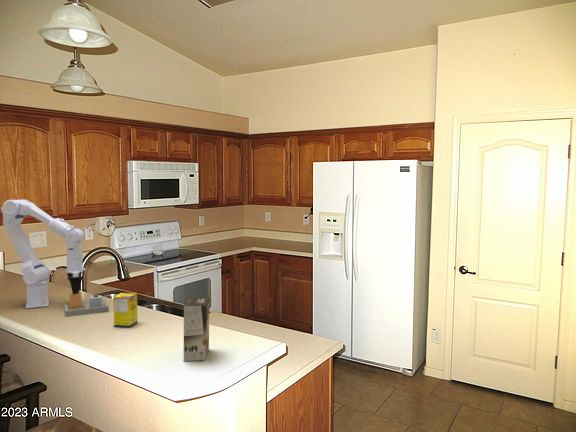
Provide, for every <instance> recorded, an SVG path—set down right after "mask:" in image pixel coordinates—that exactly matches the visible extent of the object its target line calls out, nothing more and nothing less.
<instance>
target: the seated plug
mask: <svg viewBox="0 0 576 432" xmlns="http://www.w3.org/2000/svg"><path fill="white" fill-rule="evenodd" d="M94 307H103V297H102V295H101V294H100V295H99V294H98V293H94V294H93V295H90V296H89V308H94Z"/></svg>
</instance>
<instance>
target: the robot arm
mask: <svg viewBox="0 0 576 432" xmlns="http://www.w3.org/2000/svg"><path fill="white" fill-rule="evenodd" d="M0 211H1V213H2V224H3V228H4V229H5V231H6V233H7V234H6V235H8V237H9V240H10V241H11V243H12V246H13V247H14V249H15V252H16V253H17V255H18V257H19V259H20V261H21V263H22V266H21V270H20V271H21V272H22V280H23V282H24V283H25V284H26V303H25V309H33V308H40V307H41V308H42V307H49V303H50V301H49V299H48V279H49V278H50V276H51V270H50V268H49V267H48V266H46V264H45V263H44V261H43V260H41V259H39V258H38V256H37V254H36V252H35V251H34V248H33V247H32V245H31V242H30V240H29V239H28V237H27V235H26V233H25V230H24V229H23V226H22V222H23V220H24V218H26V217H27V216H31V217H33V218H34V219H36V220H37V221H39V222H41V223H44V224H45V225H47V226H48V229H49V230H50V232H53V233H54V234H56V235H57V236H59V237H61V238H62V239H63V241H64V243H65V244H66V275H67V279H68V281H69V284H70V287H71V293H73V294H77V293H79V292H80V289H81V283H82V281H83V279H84V275H82V274H83V272H84V271H86V270H87V268H86V267H83V266H84V265H83V240H85V232H84V231H83V230H82V229H81V228H75V226H74V225H71V224H69V223H67V222H66V221H65V219H63V218H59V217H57V218H55V217H52V216H51V215H49V214H48V213H46V212H45V211H44V210H42V209H41V208H39V207H38V206H36V204H35V203H34V202H32V201H30V200H28V199H24V198H22V199H8V200H5V201H4V202H3V204H2V206H1V208H0Z"/></svg>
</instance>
